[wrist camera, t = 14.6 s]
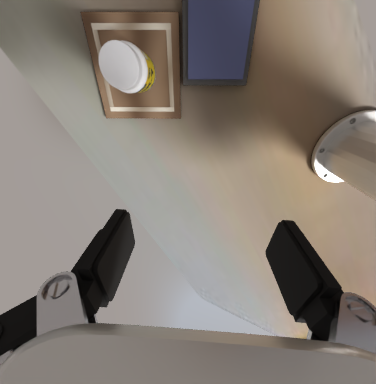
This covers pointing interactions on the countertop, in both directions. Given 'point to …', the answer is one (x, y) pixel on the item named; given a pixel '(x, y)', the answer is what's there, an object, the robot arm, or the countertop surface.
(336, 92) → the countertop surface
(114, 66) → the supplement bottle
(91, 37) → the marked board
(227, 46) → the ink pad
